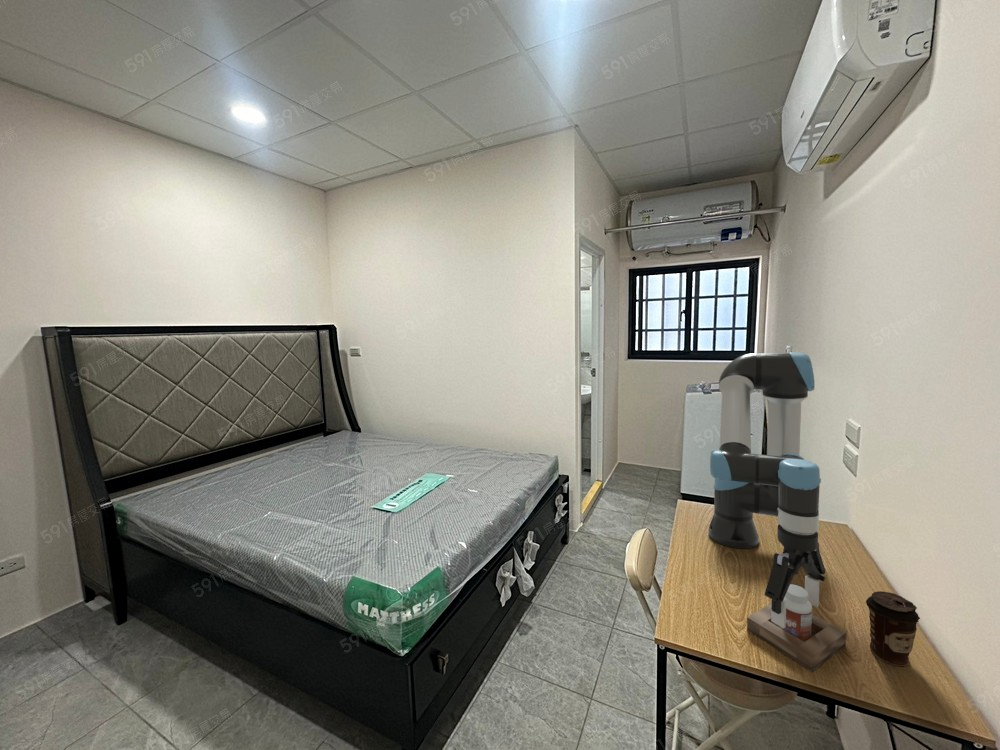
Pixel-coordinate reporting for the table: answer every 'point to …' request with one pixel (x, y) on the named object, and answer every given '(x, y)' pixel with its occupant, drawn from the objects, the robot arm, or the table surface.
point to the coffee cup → (892, 627)
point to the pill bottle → (798, 613)
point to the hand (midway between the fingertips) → (795, 613)
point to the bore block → (808, 653)
